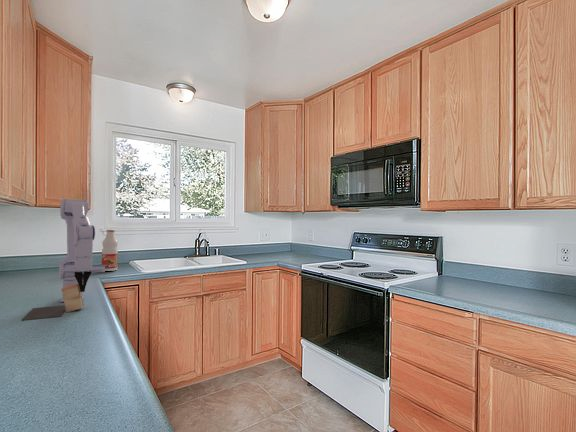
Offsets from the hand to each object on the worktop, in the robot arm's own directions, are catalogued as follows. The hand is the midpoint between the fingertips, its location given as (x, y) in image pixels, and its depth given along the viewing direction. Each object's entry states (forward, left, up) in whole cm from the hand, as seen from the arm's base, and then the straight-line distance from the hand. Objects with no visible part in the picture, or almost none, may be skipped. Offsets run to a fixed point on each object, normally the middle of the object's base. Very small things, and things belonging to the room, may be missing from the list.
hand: (82, 291), depth 122 cm
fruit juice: (-99, +7, -7) cm, 99 cm away
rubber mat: (0, -11, -7) cm, 13 cm away
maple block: (0, -2, -6) cm, 7 cm away
